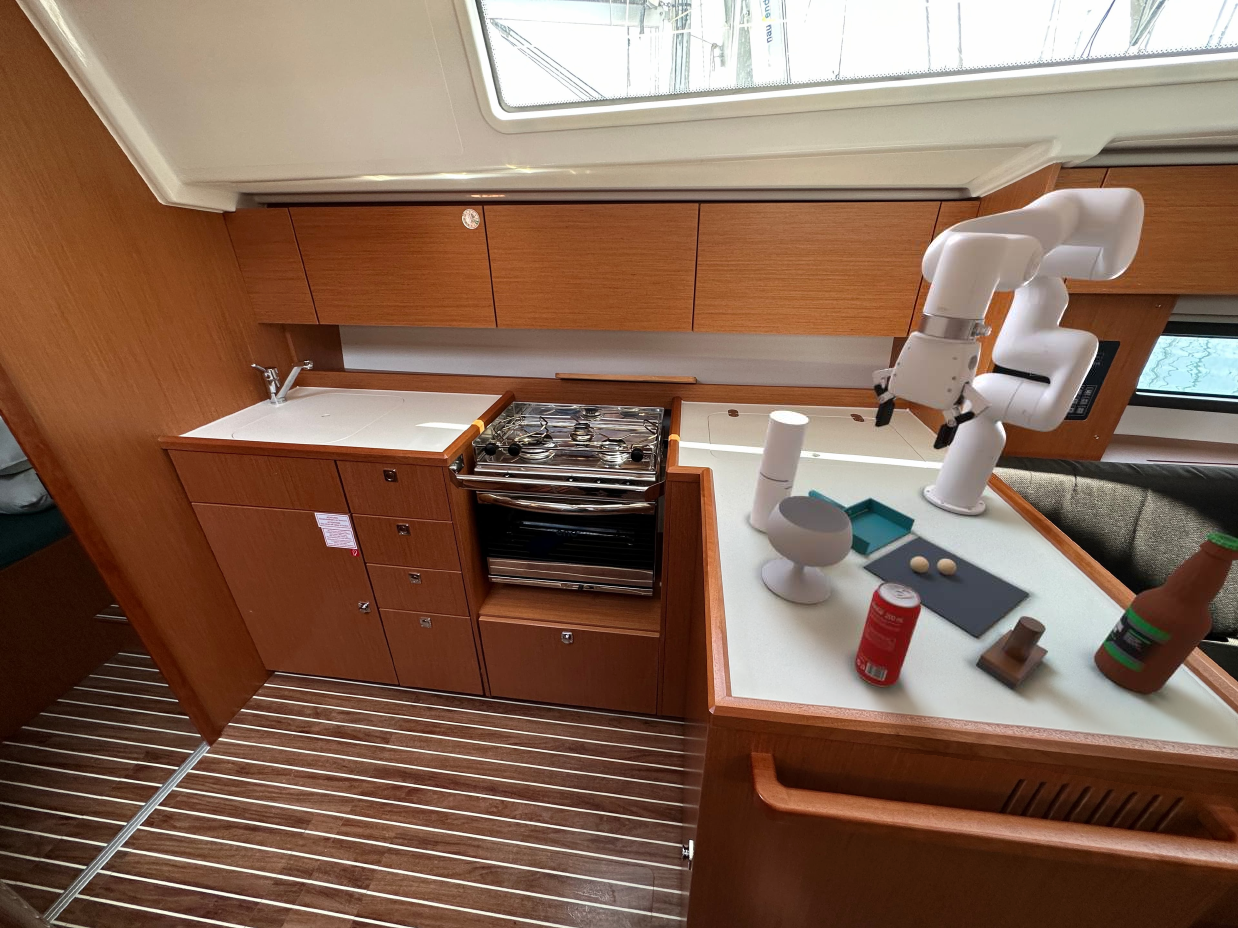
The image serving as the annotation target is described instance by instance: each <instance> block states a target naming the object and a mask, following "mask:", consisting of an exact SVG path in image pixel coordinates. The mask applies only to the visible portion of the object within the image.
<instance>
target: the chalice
mask: <svg viewBox="0 0 1238 928" xmlns="http://www.w3.org/2000/svg"><path fill="white" fill-rule="evenodd" d="M849 518H850V517H848V516H847V514H846V513H845V512H844V511H843V510H842V509H840V508H839V507H838V506H836V505H834V504H832V503H830V502H827V501H825V500H822V499H819V498H814V497H809V496H807V495H794V496H792V495H791V497H788V498H785V499H784V500H782V501H781V502H779V503H778V504H777V505H776V507H775V508H774V510H773V511H772V513H771V514H770V516H769V519H768V521H767V527H766V532H765V533H766V536H767V537H766V538H767V540H768V542H769V544H770V545H771V547H772V549H774V551H776V552H777V554H779V555H780V556H782V557H783V558H777V559H773V560H772V559H771V560H769V561H768V562H766V563H765V564H764V565H763V567H762V569H761V578H762V580H763V582H764V584H765V585H766V586H767V588H769V589H770V590H771V591H772V592H773V593H774V594H776V595H778V596H779V597H781V598H783V599H786V600H787V601H791V602H795V603H800V604H818V603H821V602H823V601H825V600H826V599H828V598H829V596H830V595H831V590H832V587H831V583H830V581H829V580H828V578H827V577H826V576H825V575H824V573H822V572H821V571H820V570H819V569H817V568H827V567H831V566H834V565H837V564H839V563H841V562H842V561H843V560H844V559H845V558H846V557H848V555H849V553H850V551H851V549H852V548H851V546H852V539H853V534H852V525H851V522H850V519H849Z"/></svg>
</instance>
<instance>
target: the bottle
mask: <svg viewBox="0 0 1238 928" xmlns="http://www.w3.org/2000/svg"><path fill="white" fill-rule="evenodd" d="M1206 538H1207V540H1205V541H1204V542H1202V543H1201V544H1199V548H1200V549H1198V550H1197V551H1196V552H1194V553H1193V554H1192V555H1191V556H1190V557H1188V558H1187V559H1186V560H1185V561H1183V562H1182V563H1181V564H1180V565H1179V566H1178V567H1177V568H1176V569H1175V570H1174V571H1173V572H1172V573H1171V574H1170V576H1168V578H1167V579H1166V581H1165V583H1164V584H1163V585H1161V586H1159V587H1155V588H1151V589H1147V590H1144V591H1142V592H1140V593H1138V594H1137V595H1135V597H1134V599H1133V600H1132V601H1131V603H1130V604H1129V605H1128V607H1127V608H1126V609H1125V611H1124V613H1123V614H1122V615H1121V617H1120V619H1119V620H1117V622H1116V624H1115V625H1114V626H1113V627H1112V629H1111V630H1110V632H1109V633H1108V635H1107V636H1106V638H1105V639H1104V640H1103V642H1102V644H1101V645H1100V646H1099V647H1098V648H1097V650H1096V652H1095V653H1094V656H1093V660H1094V663H1095V665H1096V667H1097V668H1098V670H1099V671H1100V672H1101V673H1102V674H1103V675H1104V676H1105V677H1106V678H1107V679H1109V680H1110V681H1112V682H1113V683H1115V684H1117V685H1119V686H1120V687H1123V688H1125V689H1128V690H1130V691H1133V692H1136V693H1140V694H1141V693H1142V694H1153V693H1157V692H1158V691H1160V690H1161V689H1162V688H1163V687H1164V686H1165V685H1166V683H1167V682H1168V681H1169V680H1170V679H1171V678H1172V676H1173V675H1174V674H1175V673H1176V672H1177V670H1178V669H1179V668H1180V667H1181V666H1182V665H1183V663H1184V662H1185V661H1186V660H1187V659H1188V658H1189V656H1190V655H1191V654H1192V653H1193V652H1194V651H1195V650H1196V648H1197V647H1198V646H1199V645H1200V643H1201V642H1203V640H1204V639H1205V638H1206V636H1207V635H1208V634H1209V633H1210V631H1211V629H1212V626H1213V621H1212V617H1211V613H1210V609H1209V606H1210V604H1211V603H1212V602H1213V601H1214V600H1215V599H1216V597H1217V595H1218V594H1219V592H1220V591H1221V589H1222V588H1223V587H1224V584H1225V583H1226V581H1227V577H1228V575H1229V573H1230V571H1231V568H1232V566H1233V561H1238V538H1236V537H1234V536H1231V535H1228V534H1224V533H1219V532H1213V533H1209V534H1207V535H1206Z"/></svg>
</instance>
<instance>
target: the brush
mask: <svg viewBox="0 0 1238 928" xmlns="http://www.w3.org/2000/svg"><path fill="white" fill-rule="evenodd" d="M1046 630H1047V629H1046V626H1045V625H1044V623H1042V622H1041V621H1040V620H1038V619H1036V618H1034V617H1032V616H1027V615H1023V616H1020V617H1019V619H1018V621H1017V622H1016V624H1015V626H1014V627H1013V629H1009V630H1008V631H1007V632H1006V633H1004V634H1003V635H1002V636H1001V637H1000V638H999V639H998V640H997V641H995V642H994V643H993V644H992V645H991V646H989V647H988V648H987V649H986V650H985V651H984V652H982V654H980V656H979V657H978V660H977V662H976V663H975V665H976V667H978V668H980V669H981V670H983V671H984V672H986V673H987V674H989V675H990V676H992V677H993V678H995V679H996V680H998V681H999V682H1001V683H1002V684H1004V685H1006V686H1007V687H1008V688H1010V689H1012V690H1015V689H1016V688H1017V687H1018V686H1020V684H1021V683H1023V681H1024V680H1025V679H1026V678H1027V677H1028V676H1029V675H1030V674H1031V673H1032V672H1033V671H1034V670H1035V669H1036V668H1037V667H1038V666H1039V665H1040V664H1041V663H1042V662H1043V660H1044V659H1045V657H1046V655H1047V654H1048V652H1049V650H1048V649H1046V648H1044V647H1042V646H1041V645H1039V644H1038V643H1039V642H1040V640H1041V638H1042V637H1043V635H1044V633H1045V632H1046Z"/></svg>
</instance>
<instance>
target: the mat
mask: <svg viewBox="0 0 1238 928" xmlns="http://www.w3.org/2000/svg"><path fill="white" fill-rule="evenodd" d="M915 557H923V558H925V559H926V560H927V561H928V563H929V568H928V570H927V571H925V572H923V573H919V572H916V571H914V570H913V569H912V568H911V566H910V562H911V560H912V559H913V558H915ZM942 559H950V560H952V561H953V562H954V563H955V564H956V571H955V572H954V573H953V574H951V575H945V574H942V573H941V572H940V571H939V570H938V568H937V564H938V562H939V561H940V560H942ZM862 567H863V569H864V570H867V571H868V572H869V573H871V574H872V575H874V576H876V577H878V578H879V579H881V580H882V581H883V582H897V583H901V584H904V585H906V586H908V587H910V588H912V589H913V590H914V591H915V592H916V593H917V594H918V595H919V597H920V604H921V605H922V606H924V607H926V608H927V609H929V610H931V611H933V612H934V613H935V614H936V615H938V616H940V617H942V618H943V619H945V620H947V621H948V622H950V623H951V624H953V625H955V626H957V627H958V628H960V629H961V630H963V631H965V632H966V633H968V634H969V635H971V636H973V637H974V638H976V639H977V638H978V637H980V636H981V635H982V634H983V633H984V632H985V631H987V630H988V629H989V628H990V627H992V626H993V625H994V624H995V623H996V622H998V621H999V620H1000V619H1001V618H1002V617H1003V616H1005V615H1006V614H1007V613H1009V611H1011V610H1013V609H1014V607H1016V606H1017V605H1018V604H1020V603H1021V602H1022V601H1023V600H1024V599H1025V598H1026V597H1028V596H1029V595H1030V593H1029V592H1028V591H1025V590H1023V589H1021V588H1019V587H1018V586H1015V585H1013V584H1012V583H1010V582H1008V581H1006V580H1004V579H1002V578H1000V577H999V576H996V575H994V574H993V573H990V572H989V571H986V570H985V569H983V568H981V567H979V566H977V565H975V564H973V563H972V562H969V561H967V560H965V559H964V558H962V557H960V556H958V555H956V554H954V553H952V552H950V551H948V550H946V549H944V548H942V547H940V546H939V545H936V544H934V543H932V542H931V541H930V540H929V541H928V540H927V539H925V538H923V537H921V536H917V537H915V538H913V539H912V540H910V541H907V542H906V543H904V544H903V545H900V546H899V547H897V548H895V549H893V550H892V551H890V552H888V553H886V554H884V555H882V556H880V557H878V558H877V559H875V560H872V561H870V563H868V564H865V565H864V566H862Z"/></svg>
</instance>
